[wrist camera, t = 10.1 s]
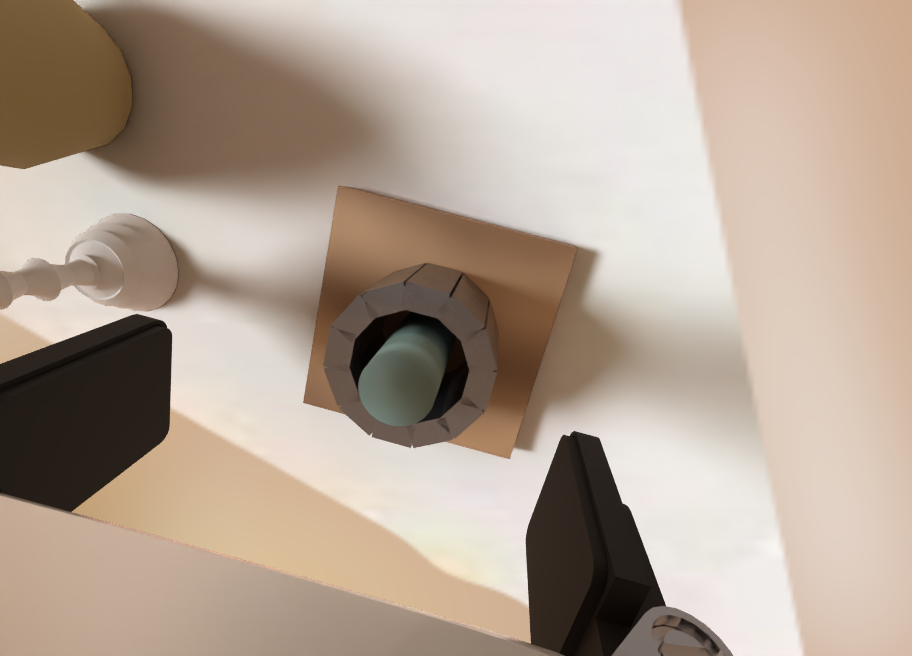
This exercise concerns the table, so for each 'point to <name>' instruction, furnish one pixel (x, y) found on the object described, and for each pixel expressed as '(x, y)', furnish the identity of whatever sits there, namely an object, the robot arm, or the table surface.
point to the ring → (363, 337)
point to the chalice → (104, 267)
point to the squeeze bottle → (57, 82)
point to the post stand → (426, 338)
